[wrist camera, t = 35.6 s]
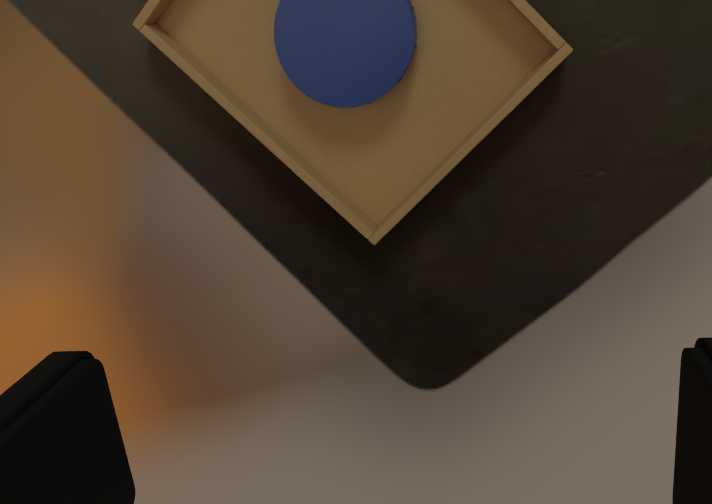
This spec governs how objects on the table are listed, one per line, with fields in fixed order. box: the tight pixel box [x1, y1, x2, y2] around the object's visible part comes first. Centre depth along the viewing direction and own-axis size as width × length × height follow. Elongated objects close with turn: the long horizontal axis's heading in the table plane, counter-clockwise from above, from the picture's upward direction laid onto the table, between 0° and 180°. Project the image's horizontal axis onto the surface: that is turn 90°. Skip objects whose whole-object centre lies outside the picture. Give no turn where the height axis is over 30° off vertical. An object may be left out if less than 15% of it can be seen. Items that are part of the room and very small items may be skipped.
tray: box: [132, 0, 573, 245], centre depth 34 cm, size 17×14×2 cm
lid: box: [274, 0, 418, 108], centre depth 33 cm, size 7×7×2 cm
